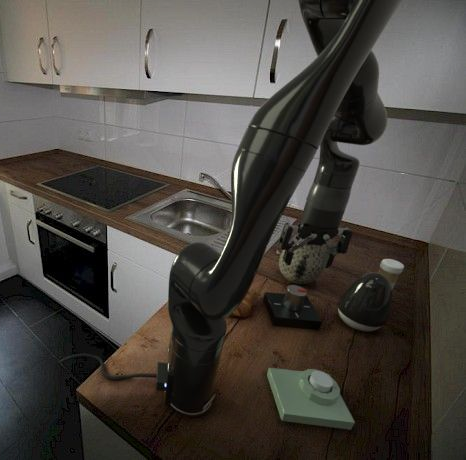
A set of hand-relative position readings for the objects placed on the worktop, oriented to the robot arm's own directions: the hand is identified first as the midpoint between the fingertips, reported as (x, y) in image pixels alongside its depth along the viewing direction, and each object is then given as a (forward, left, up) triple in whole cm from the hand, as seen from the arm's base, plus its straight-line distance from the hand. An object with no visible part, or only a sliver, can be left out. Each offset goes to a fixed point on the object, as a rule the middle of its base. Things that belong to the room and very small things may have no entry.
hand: (305, 265), depth 76 cm
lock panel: (0, 0, -16) cm, 16 cm away
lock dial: (0, 0, -13) cm, 13 cm away
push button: (-3, -24, -12) cm, 27 cm away
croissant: (-14, +2, -16) cm, 21 cm away
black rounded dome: (+16, -1, -16) cm, 23 cm away
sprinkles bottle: (+25, +8, -16) cm, 31 cm away
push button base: (-5, -25, -16) cm, 30 cm away
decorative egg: (+7, +16, -16) cm, 24 cm away
